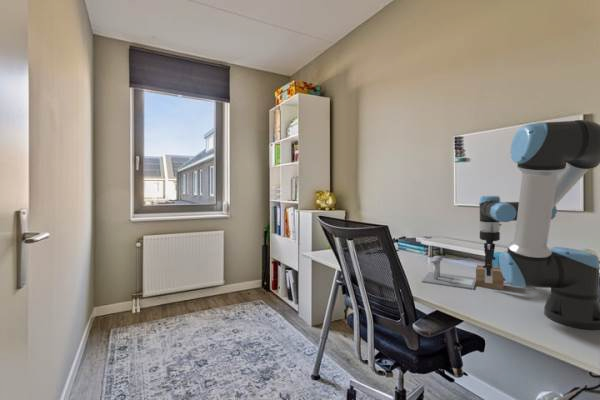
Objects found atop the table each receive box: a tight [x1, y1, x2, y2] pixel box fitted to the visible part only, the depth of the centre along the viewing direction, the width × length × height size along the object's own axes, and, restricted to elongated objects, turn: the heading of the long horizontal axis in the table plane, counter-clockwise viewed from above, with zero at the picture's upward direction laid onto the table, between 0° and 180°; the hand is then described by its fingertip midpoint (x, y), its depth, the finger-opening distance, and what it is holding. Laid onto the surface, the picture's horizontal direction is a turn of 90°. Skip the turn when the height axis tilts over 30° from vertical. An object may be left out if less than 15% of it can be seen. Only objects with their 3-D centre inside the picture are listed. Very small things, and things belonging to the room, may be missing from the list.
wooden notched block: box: [475, 264, 505, 291], centre depth 133 cm, size 7×10×8 cm
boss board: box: [421, 255, 476, 290], centre depth 141 cm, size 16×21×10 cm
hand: (489, 278), depth 133 cm, fingers open, 13 cm apart
